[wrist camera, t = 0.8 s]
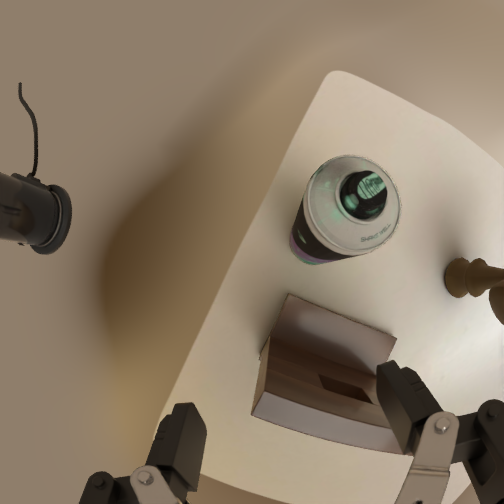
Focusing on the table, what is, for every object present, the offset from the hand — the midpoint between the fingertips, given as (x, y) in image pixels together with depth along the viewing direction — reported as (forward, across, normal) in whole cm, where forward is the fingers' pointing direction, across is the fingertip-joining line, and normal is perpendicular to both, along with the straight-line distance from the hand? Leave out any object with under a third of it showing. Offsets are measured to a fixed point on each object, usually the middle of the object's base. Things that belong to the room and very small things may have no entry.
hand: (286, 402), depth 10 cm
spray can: (+22, -6, -1) cm, 23 cm away
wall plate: (+18, -5, +11) cm, 21 cm away
